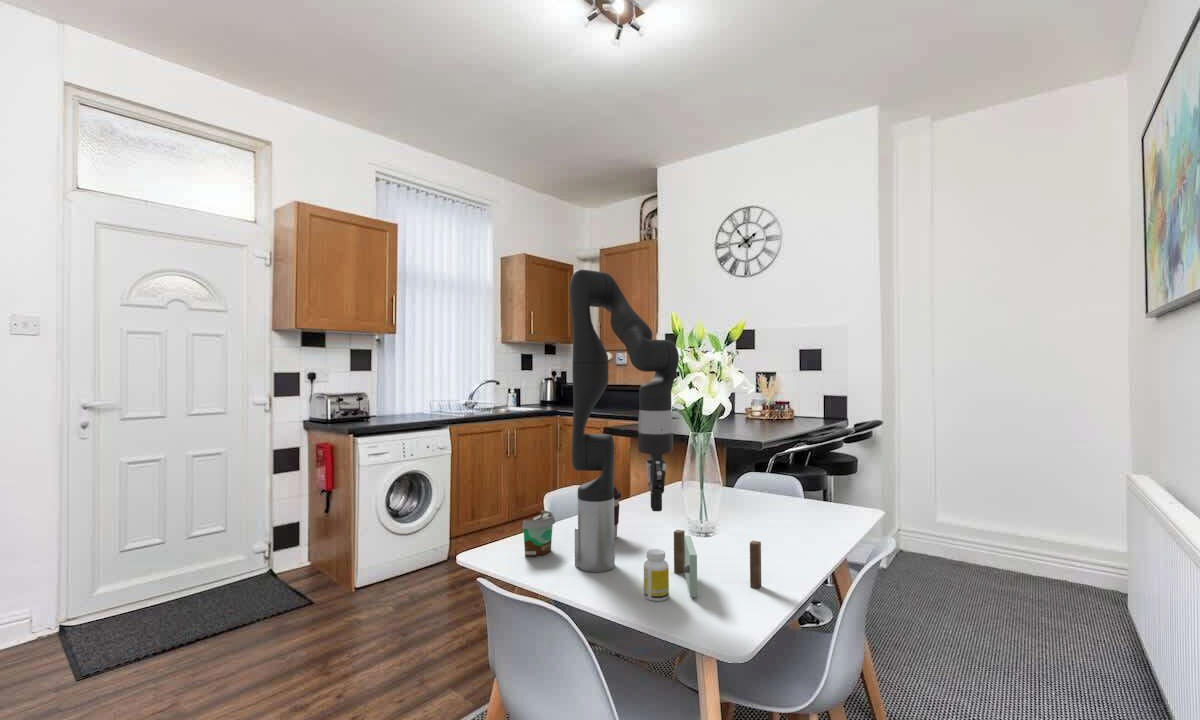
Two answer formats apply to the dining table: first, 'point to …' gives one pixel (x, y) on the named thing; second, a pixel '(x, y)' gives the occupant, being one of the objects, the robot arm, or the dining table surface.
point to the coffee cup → (616, 510)
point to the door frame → (754, 558)
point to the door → (690, 566)
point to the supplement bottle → (656, 576)
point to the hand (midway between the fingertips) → (656, 509)
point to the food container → (538, 534)
